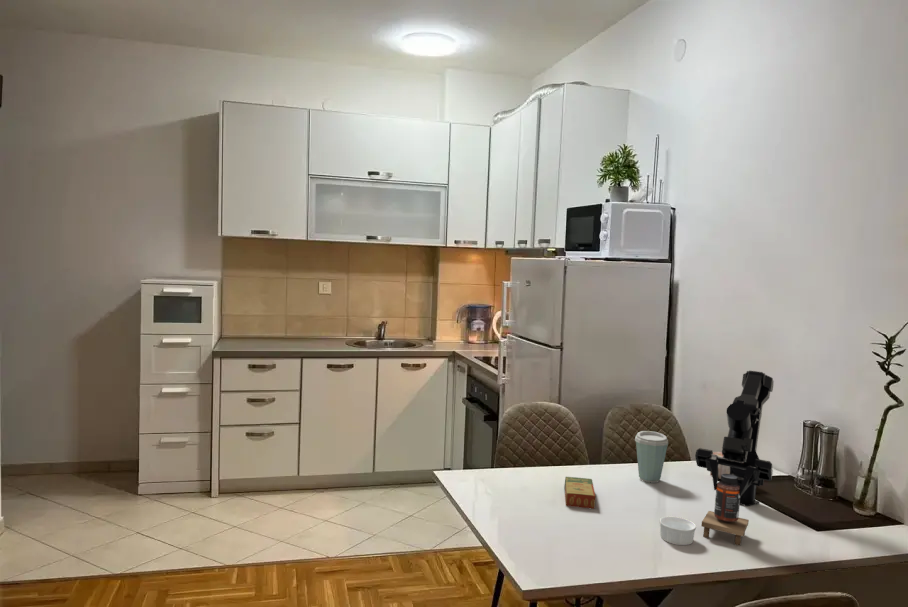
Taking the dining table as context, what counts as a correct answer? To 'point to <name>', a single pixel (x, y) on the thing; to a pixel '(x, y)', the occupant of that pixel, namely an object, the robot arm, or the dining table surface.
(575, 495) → the carton
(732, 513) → the supplement bottle
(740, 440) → the robot arm
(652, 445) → the disposable coffee cup
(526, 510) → the dining table surface
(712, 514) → the stool
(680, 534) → the ramekin
